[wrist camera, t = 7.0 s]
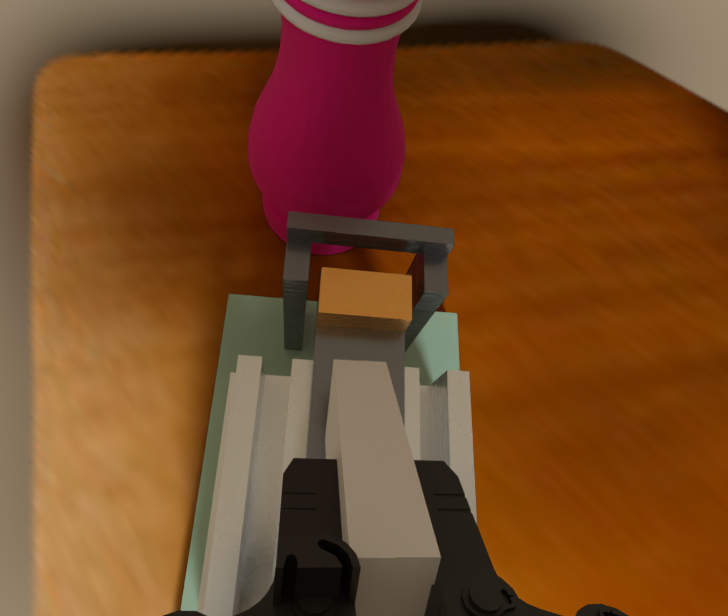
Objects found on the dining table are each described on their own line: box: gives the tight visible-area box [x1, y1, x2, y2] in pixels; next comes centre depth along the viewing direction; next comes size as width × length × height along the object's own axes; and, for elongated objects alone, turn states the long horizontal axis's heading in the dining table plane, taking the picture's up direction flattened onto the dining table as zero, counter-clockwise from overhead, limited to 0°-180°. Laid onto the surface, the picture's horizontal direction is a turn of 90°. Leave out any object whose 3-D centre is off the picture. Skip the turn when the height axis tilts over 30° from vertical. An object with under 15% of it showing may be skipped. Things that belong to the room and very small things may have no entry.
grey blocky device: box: [197, 211, 477, 616], centre depth 17 cm, size 16×9×8 cm, turn 178°
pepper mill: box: [248, 0, 423, 255], centre depth 18 cm, size 7×7×20 cm
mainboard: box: [180, 294, 459, 611], centre depth 21 cm, size 18×11×1 cm, turn 178°
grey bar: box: [306, 267, 412, 459], centre depth 14 cm, size 15×3×2 cm, turn 178°
